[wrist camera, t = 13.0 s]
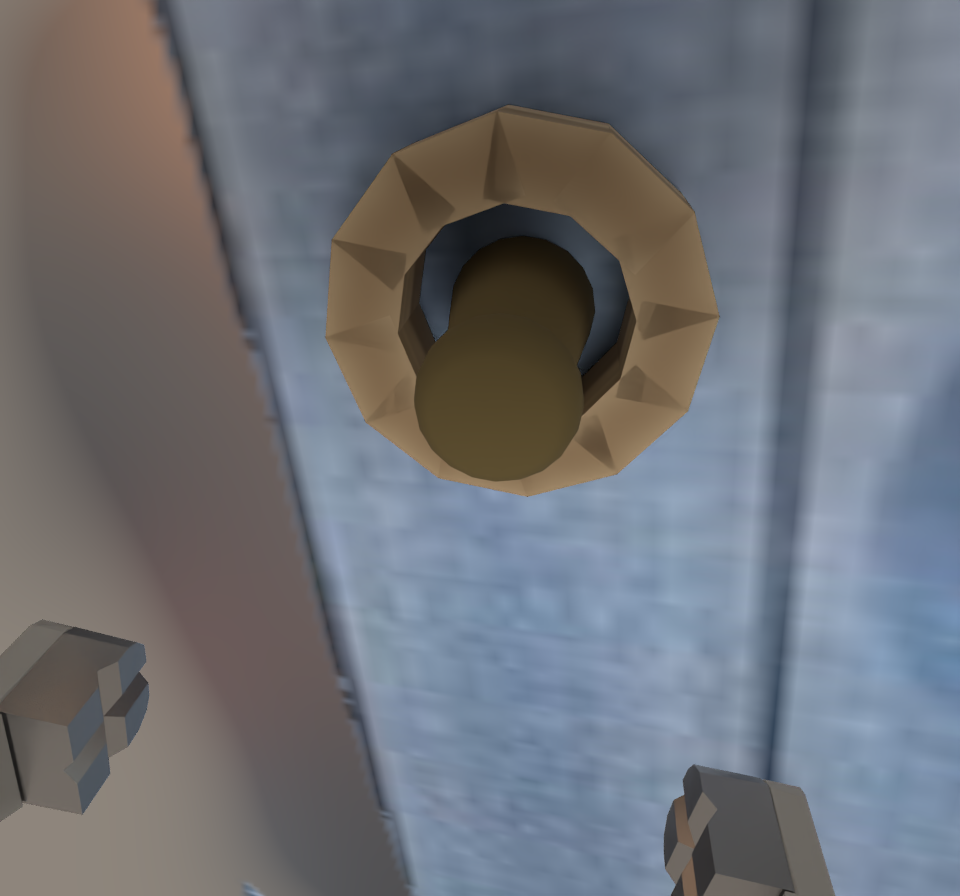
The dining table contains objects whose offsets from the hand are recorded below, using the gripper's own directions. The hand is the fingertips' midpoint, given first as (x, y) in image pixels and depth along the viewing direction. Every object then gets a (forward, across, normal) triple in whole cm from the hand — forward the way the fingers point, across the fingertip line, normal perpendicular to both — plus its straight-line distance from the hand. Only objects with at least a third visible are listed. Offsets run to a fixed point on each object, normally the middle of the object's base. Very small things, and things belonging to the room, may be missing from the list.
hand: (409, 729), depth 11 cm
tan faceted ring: (+22, 0, 0) cm, 22 cm away
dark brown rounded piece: (+23, 0, +1) cm, 23 cm away
